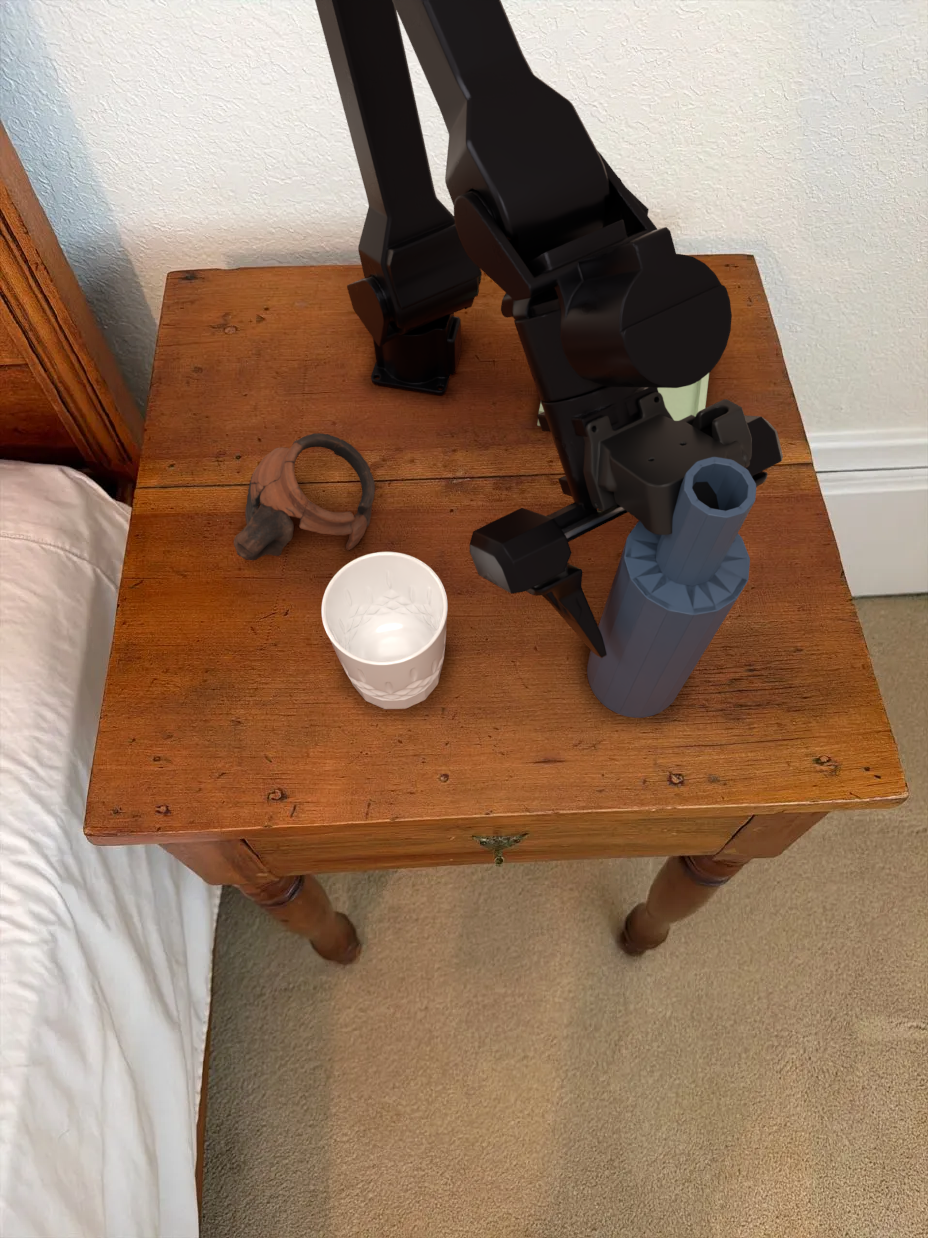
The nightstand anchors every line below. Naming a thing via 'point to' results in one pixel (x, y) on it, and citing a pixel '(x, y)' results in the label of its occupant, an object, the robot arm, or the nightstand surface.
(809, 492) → the nightstand surface
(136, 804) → the nightstand surface
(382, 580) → the white cup
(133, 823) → the nightstand surface
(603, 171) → the robot arm
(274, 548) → the brown grey sculpted ring
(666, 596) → the carafe
